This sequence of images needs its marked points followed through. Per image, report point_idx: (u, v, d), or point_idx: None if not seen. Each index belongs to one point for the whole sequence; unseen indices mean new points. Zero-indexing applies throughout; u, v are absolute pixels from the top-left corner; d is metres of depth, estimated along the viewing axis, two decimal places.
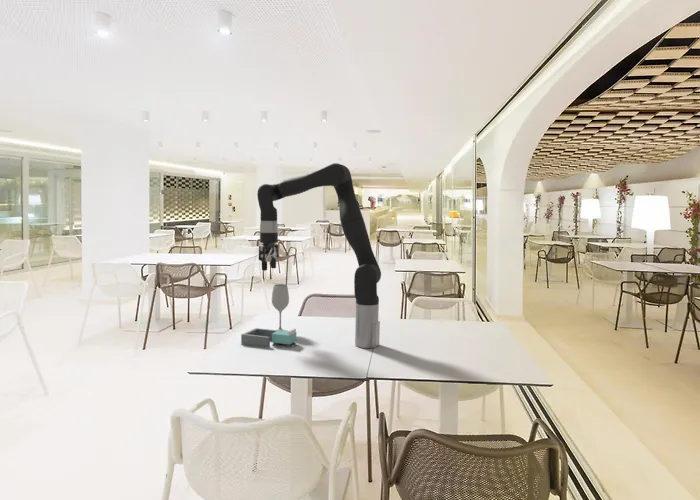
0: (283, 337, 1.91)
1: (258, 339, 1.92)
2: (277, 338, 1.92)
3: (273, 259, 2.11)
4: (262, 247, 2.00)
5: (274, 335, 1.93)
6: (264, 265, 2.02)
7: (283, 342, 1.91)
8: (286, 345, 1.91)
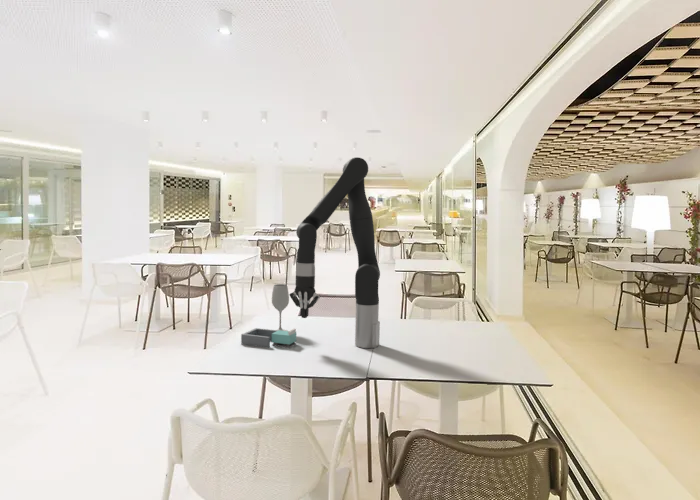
0: (282, 337, 1.91)
1: (258, 339, 1.92)
2: (277, 338, 1.92)
3: None
4: (319, 297, 1.89)
5: (274, 335, 1.93)
6: None
7: (283, 342, 1.91)
8: (286, 345, 1.91)
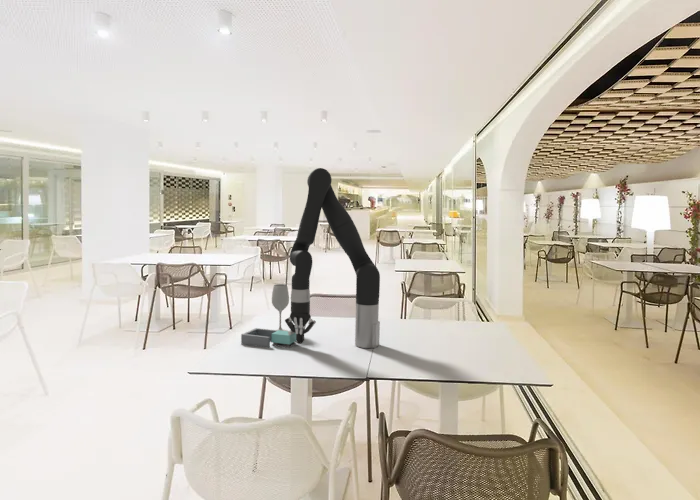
0: (282, 337, 1.91)
1: (258, 339, 1.92)
2: (277, 338, 1.92)
3: (299, 333, 1.92)
4: (314, 323, 1.90)
5: (274, 335, 1.93)
6: (303, 337, 1.92)
7: (283, 342, 1.91)
8: (286, 345, 1.92)
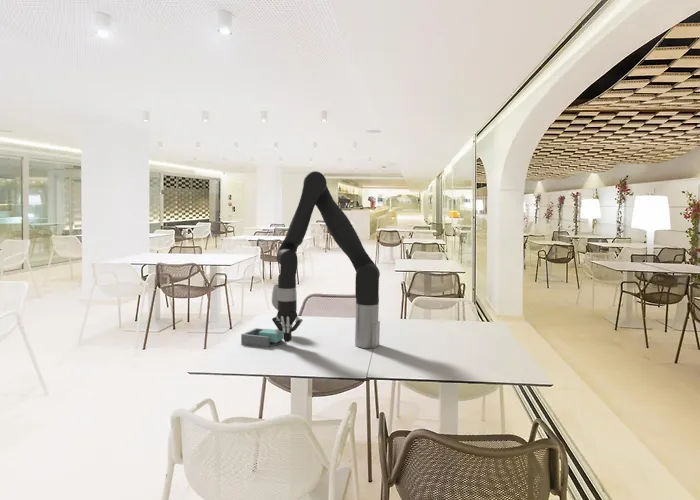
0: (270, 335, 1.93)
1: (258, 339, 1.92)
2: None
3: (287, 331, 1.94)
4: (301, 321, 1.92)
5: (261, 333, 1.94)
6: None
7: (270, 340, 1.93)
8: (273, 343, 1.93)
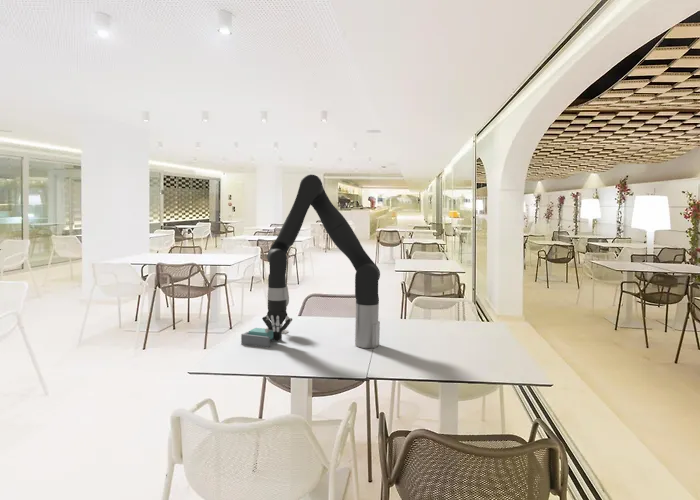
0: (260, 334, 1.95)
1: (258, 339, 1.92)
2: None
3: None
4: (291, 320, 1.94)
5: (251, 332, 1.96)
6: None
7: None
8: None
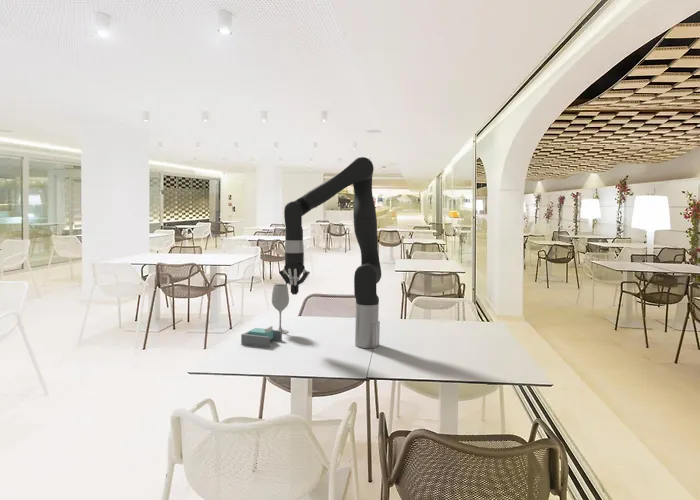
0: (259, 334, 1.95)
1: (258, 339, 1.92)
2: None
3: None
4: (308, 273, 1.93)
5: (251, 332, 1.96)
6: (298, 288, 1.95)
7: None
8: None
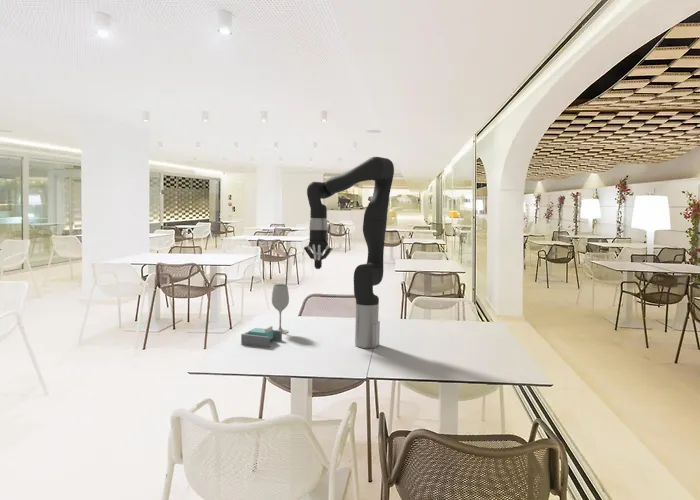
0: (259, 334, 1.95)
1: (258, 339, 1.92)
2: None
3: (317, 259, 2.09)
4: (331, 249, 2.07)
5: (251, 332, 1.96)
6: (321, 263, 2.09)
7: None
8: None
